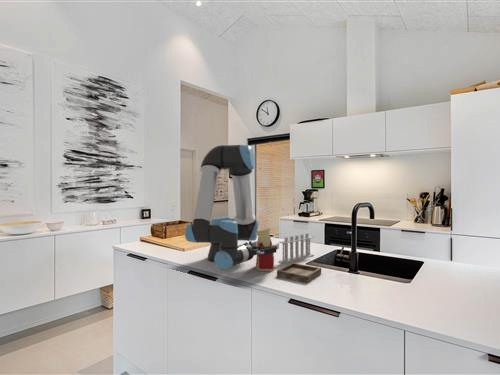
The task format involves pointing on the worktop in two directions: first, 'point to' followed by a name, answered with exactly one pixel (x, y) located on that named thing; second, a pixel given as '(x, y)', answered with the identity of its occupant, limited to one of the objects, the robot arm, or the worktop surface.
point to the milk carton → (268, 259)
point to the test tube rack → (296, 248)
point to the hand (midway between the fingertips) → (268, 244)
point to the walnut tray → (299, 272)
